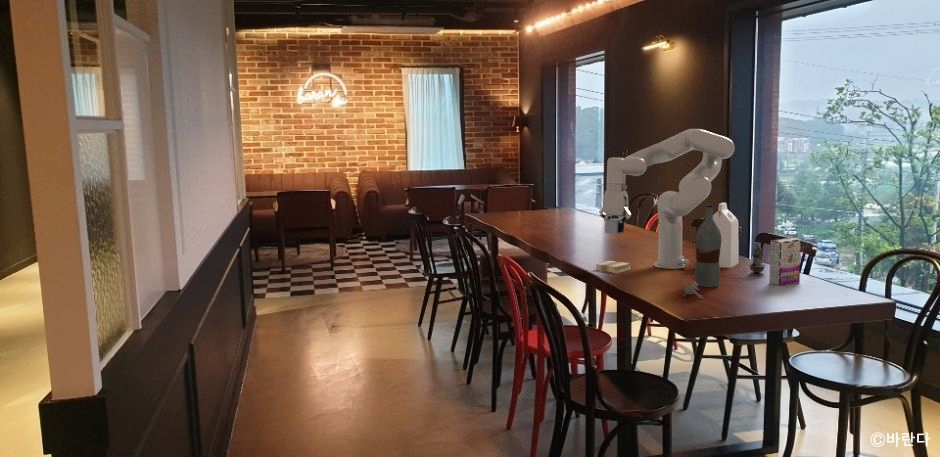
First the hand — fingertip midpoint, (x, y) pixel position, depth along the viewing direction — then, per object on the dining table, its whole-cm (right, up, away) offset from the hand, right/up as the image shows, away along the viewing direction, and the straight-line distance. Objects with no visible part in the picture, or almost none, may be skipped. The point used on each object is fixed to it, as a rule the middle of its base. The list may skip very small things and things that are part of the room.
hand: (614, 231), depth 297 cm
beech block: (0, -17, 0) cm, 16 cm away
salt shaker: (+53, -17, -14) cm, 58 cm away
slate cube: (0, -1, 0) cm, 1 cm away
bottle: (+28, -20, -31) cm, 46 cm away
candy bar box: (+57, -20, -30) cm, 67 cm away
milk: (+47, -14, +8) cm, 50 cm away
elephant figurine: (+16, -23, -49) cm, 56 cm away
